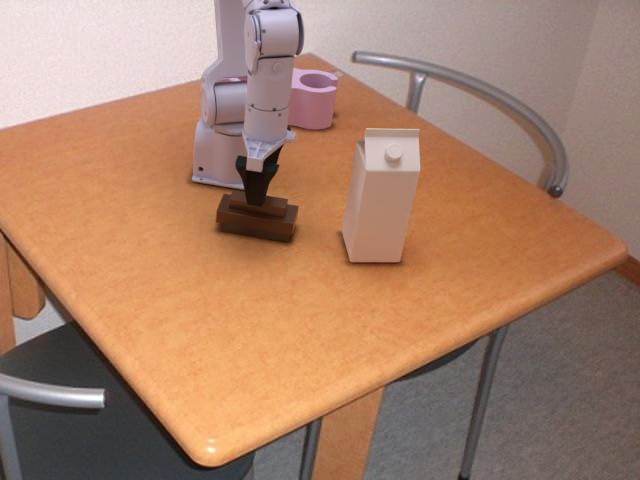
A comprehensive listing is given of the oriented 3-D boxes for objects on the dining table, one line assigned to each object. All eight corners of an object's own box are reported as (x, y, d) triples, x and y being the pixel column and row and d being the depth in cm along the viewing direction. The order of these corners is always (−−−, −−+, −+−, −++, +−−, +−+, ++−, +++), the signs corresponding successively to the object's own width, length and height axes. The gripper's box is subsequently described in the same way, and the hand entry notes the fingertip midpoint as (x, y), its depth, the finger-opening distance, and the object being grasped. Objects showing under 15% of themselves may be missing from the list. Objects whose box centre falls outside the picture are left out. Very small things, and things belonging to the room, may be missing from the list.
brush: (215, 231, 126) (217, 201, 123) (222, 213, 130) (224, 183, 127) (291, 244, 125) (294, 214, 122) (296, 225, 129) (300, 196, 125)
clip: (334, 103, 158) (340, 67, 154) (329, 137, 149) (334, 100, 144) (225, 89, 160) (226, 53, 155) (212, 122, 150) (214, 84, 146)
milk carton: (341, 233, 128) (360, 115, 116) (389, 233, 129) (413, 115, 116) (349, 263, 122) (371, 142, 110) (399, 263, 123) (426, 143, 111)
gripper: (289, 132, 109) (279, 223, 117) (306, 81, 120) (296, 167, 128) (233, 123, 109) (227, 214, 118) (255, 73, 120) (248, 160, 129)
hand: (260, 189), depth 123 cm, fingers open, 7 cm apart
